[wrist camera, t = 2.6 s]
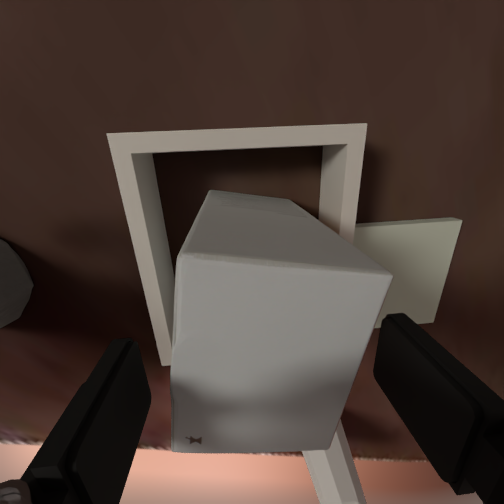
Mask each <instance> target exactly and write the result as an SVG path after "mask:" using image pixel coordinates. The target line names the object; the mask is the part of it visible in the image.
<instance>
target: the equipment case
mask: <svg viewBox="0 0 504 504" xmlns="http://www.w3.org/2000/svg"><path fill="white" fill-rule="evenodd" d="M366 130H367V123H363V124H337V125H312V126H286V127H260V128H235V129H209V130H183V131H158V132H132V133H107V137H108V142H109V146H110V150H111V154H112V158H113V163H114V167H115V171H116V175H117V180H118V184H119V188H120V192H121V196H122V201H123V205H124V209H125V213H126V217H127V222H128V226H129V230H130V234H131V238H132V243H133V247H134V251H135V255H136V259H137V264H138V268H139V272H140V276H141V280H142V285H143V289H144V293H145V297H146V302H147V306H148V310H149V314H150V318H151V323H152V327H153V331H154V335H155V339H156V344H157V348H158V352H159V356H160V360H161V365H162V366H168V365H171V359H172V341H173V322H174V294H175V278H174V272H173V267H172V261H171V256H170V250H169V245H168V239H167V233H166V228H165V222H164V217H163V211H162V206H161V200H160V195H159V189H158V183H157V178H156V172H155V167H154V161H153V156H152V153H169V152H192V151H214V150H236V149H259V148H281V147H303V146H323V154H322V171H321V187H320V204H319V221H320V222H321V223H323V224H324V225H326V226H327V227H329V228H330V229H331V230H333V231H334V232H336V233H337V234H338V235H340V236H341V237H343V238H344V239H345V240H347V241H348V242H349V243H351V244H352V245H353V240H354V231H355V223H356V214H357V206H358V197H359V189H360V181H361V172H362V164H363V155H364V147H365V138H366Z"/></svg>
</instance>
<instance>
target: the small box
mask: <svg viewBox="0 0 504 504" xmlns="http://www.w3.org/2000/svg"><path fill="white" fill-rule="evenodd" d="M393 278H394V275H393V274H392V273H391V272H389V271H388V270H387V269H385V268H384V267H383V266H381V265H380V264H379V263H377V262H376V261H375V260H373V259H372V258H370V257H369V256H368V255H366V254H365V253H363V252H362V251H360V250H359V249H358V248H356V247H355V246H354V245H352V244H351V243H349V242H348V241H347V240H345V239H344V238H343V237H341V236H340V235H338V234H337V233H336V232H334V231H333V230H331V229H330V228H329V227H327V226H326V225H324V224H323V223H321V222H320V221H319V220H317V219H316V218H315V217H313V216H312V215H311V214H309V213H308V212H306V211H305V210H304V209H302V208H301V207H299V206H298V205H296V204H295V203H294V202H292V201H291V200H289V199H281V198H273V197H265V196H257V195H250V194H242V193H234V192H226V191H218V190H209V192H208V194H207V196H206V198H205V201H204V203H203V205H202V206H201V208H200V210H199V213H198V215H197V217H196V219H195V221H194V223H193V225H192V227H191V229H190V231H189V233H188V235H187V237H186V239H185V242H184V244H183V246H182V248H181V250H180V252H179V254H178V256H177V261H176V276H175V294H174V322H173V341H172V359H171V372H170V383H171V384H170V394H171V404H172V412H171V415H172V421H171V449H172V451H173V452H182V453H255V452H286V451H312V450H328V449H329V448H330V446H331V443H332V440H333V437H334V434H335V432H336V429H337V426H338V424H339V421H340V418H341V416H342V413H343V410H344V408H345V405H346V402H347V400H348V397H349V394H350V391H351V389H352V386H353V383H354V381H355V378H356V375H357V373H358V370H359V367H360V365H361V362H362V359H363V356H364V354H365V351H366V348H367V346H368V343H369V340H370V338H371V335H372V332H373V330H374V327H375V324H376V322H377V319H378V317H379V314H380V311H381V309H382V306H383V303H384V301H385V298H386V295H387V293H388V290H389V287H390V285H391V282H392V280H393Z"/></svg>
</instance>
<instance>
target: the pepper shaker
mask: <svg viewBox="0 0 504 504" xmlns="http://www.w3.org/2000/svg"><path fill="white" fill-rule="evenodd" d="M302 453H303V455H304V458H305V461H306V464H307V467H308V470H309V473H310V476H311V479H312V482H313V484H314V487H315V491H316V493H317V496H318V499H319V502H320V504H366V500H365V496H364V493H363V490H362V487H361V484H360V480H359V477H358V474H357V471H356V468H355V465H354V461H353V458H352V455H351V452H350V448H349V445H348V442H347V439H346V436H345V432H344V429H343V426H342V423H341V419H340V421H339V424H338V426H337V429H336V432H335V434H334V437H333V440H332V443H331V446H330V448H329V449H328V450H312V451H302Z"/></svg>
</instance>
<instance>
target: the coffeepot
mask: <svg viewBox="0 0 504 504" xmlns="http://www.w3.org/2000/svg"><path fill="white" fill-rule="evenodd" d="M33 286H34V285H33V282H32V280H31V277H30V274H29V272H28V270H27V268H26V266H25V264H24V262H23V261H22V260H21V258H20V257H19V256H18V254H17V253H16V252H15V251H14V250H13V249H12V248H11V247H10V246H9V244H8V243H6V242H5V241H3V240H1V239H0V328H2V327H4V326H6V325H7V324H9V323H11V322H13V321H15V320H17V319H18V318H20V316H21V314H22V312H23V310H24V308H25V306H26V304H27V303H28V301H29V299H30V295H31V290H32V288H33Z"/></svg>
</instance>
